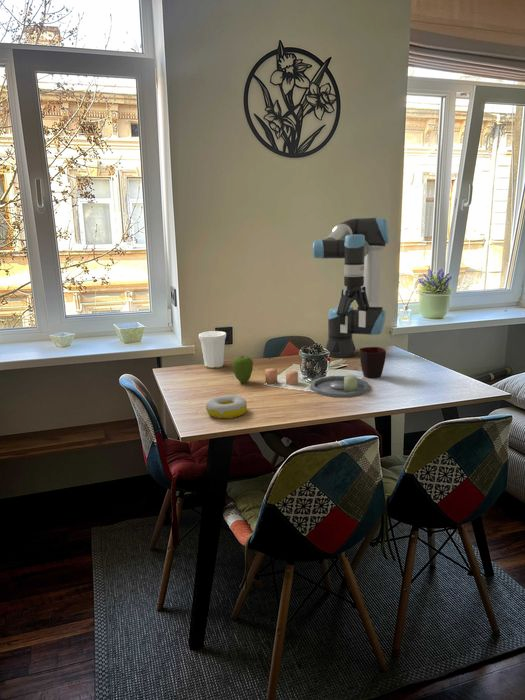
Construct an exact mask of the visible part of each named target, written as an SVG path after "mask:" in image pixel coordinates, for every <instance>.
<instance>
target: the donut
mask: <svg viewBox="0 0 525 700" xmlns="http://www.w3.org/2000/svg"><path fill="white" fill-rule="evenodd" d="M247 409H248V407H247V401H246V399H245V398H244V397H242V396H241V395H237V394H230V395H229V394H228V395H221V396H216V397H215V396H214V397H213V398H211V399H209V400H207V402H206V404H205V410H206V412H207V413H208V414H209V416H211V417H213V416H214V418H216V417H220V418H219V419H222V418H230V419H232V418H231V417H235V418H237V417H236V416H239V417H241V416H242V414H243V415H244V414H245V413H246V412H247ZM240 415H241V416H240Z"/></svg>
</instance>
